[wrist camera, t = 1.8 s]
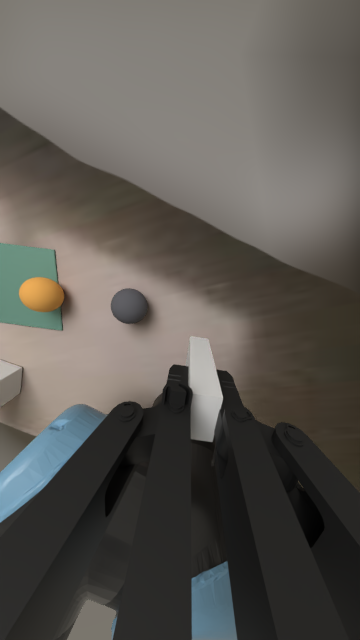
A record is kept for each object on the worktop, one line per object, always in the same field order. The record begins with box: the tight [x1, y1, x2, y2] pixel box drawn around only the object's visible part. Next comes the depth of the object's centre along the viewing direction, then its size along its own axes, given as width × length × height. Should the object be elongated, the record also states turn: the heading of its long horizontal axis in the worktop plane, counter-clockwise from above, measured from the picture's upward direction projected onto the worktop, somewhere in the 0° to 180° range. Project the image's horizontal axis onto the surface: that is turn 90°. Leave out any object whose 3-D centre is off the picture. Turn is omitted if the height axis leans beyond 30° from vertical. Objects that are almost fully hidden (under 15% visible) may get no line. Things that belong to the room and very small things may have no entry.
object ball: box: [19, 277, 64, 312], centre depth 26 cm, size 6×6×6 cm
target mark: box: [0, 243, 63, 330], centre depth 29 cm, size 14×14×1 cm
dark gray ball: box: [111, 289, 148, 324], centre depth 26 cm, size 6×6×6 cm
